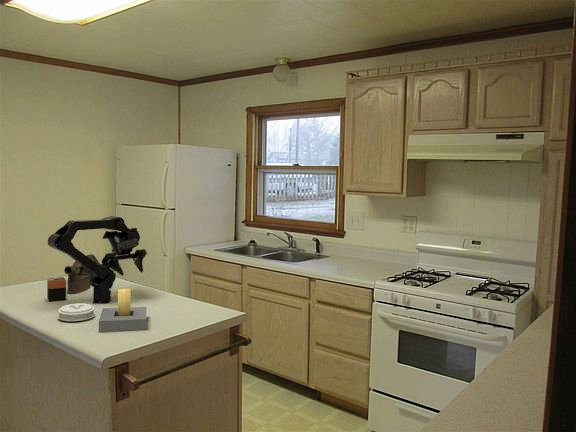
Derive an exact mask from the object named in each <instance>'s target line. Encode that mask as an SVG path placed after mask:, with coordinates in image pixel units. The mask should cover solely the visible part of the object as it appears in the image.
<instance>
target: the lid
mask: <svg viewBox="0 0 576 432" xmlns="http://www.w3.org/2000/svg"><path fill="white" fill-rule="evenodd" d="M94 311H95V307H94V306H93V305H92V304H89V303H83V302H82V303H71V304H66V305H63V306H61V307H60V308H59V309H58V311H57V313H58V316H57V317H58V319H59V320H61V321H65V322H79V321H86V320H89V319H91V318H94V316H95V312H94Z"/></svg>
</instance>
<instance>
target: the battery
mask: <svg viewBox="0 0 576 432" xmlns="http://www.w3.org/2000/svg"><path fill="white" fill-rule="evenodd" d="M46 283H47V285H46V287H47V291H46V292H47V298H46V299H47V301H48V303H52V302H61V301H66V300H67V279H66V278H65V277H64V276H63V275H62V276H61V275H60V276H57V277H56V278H55V277H50V278H48V279H47V280H46Z"/></svg>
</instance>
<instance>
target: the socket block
mask: <svg viewBox="0 0 576 432" xmlns="http://www.w3.org/2000/svg"><path fill="white" fill-rule="evenodd" d="M147 310H148V309H147V306H132V307H131V306H130V316H118V307H105V308H104V307H103V308H102V310H101V312H100V316H99V319H98V333H108V332H109V333H112V332H130V331H147Z"/></svg>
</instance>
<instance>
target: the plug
mask: <svg viewBox="0 0 576 432" xmlns="http://www.w3.org/2000/svg"><path fill="white" fill-rule="evenodd" d="M131 292H132V291H131V288H127V287H122V288H118V289H117V308H118V316H130V307H131Z"/></svg>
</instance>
